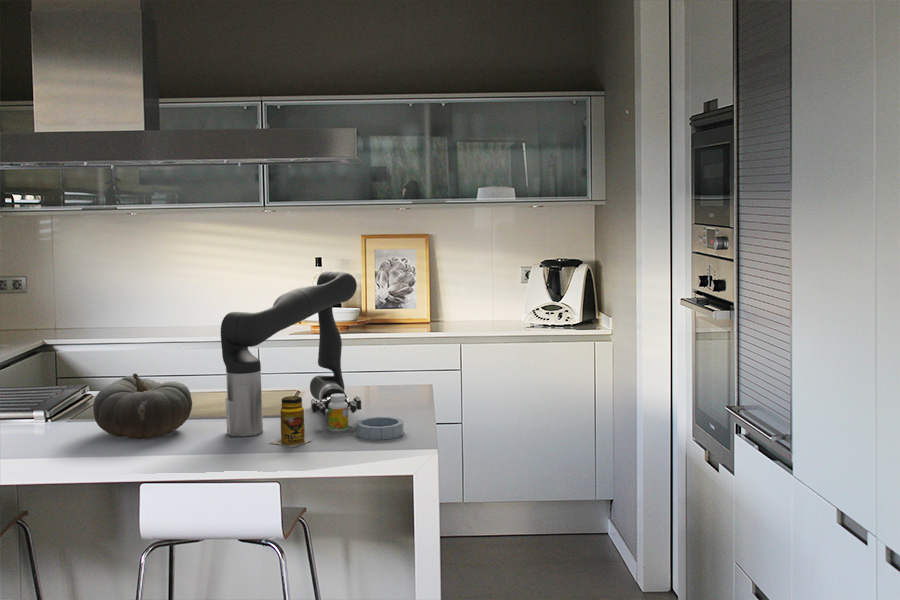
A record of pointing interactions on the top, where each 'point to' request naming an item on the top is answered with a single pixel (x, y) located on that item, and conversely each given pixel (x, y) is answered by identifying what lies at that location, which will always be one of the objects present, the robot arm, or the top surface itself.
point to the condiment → (292, 422)
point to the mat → (339, 431)
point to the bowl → (379, 428)
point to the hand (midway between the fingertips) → (338, 410)
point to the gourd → (142, 407)
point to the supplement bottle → (338, 413)
